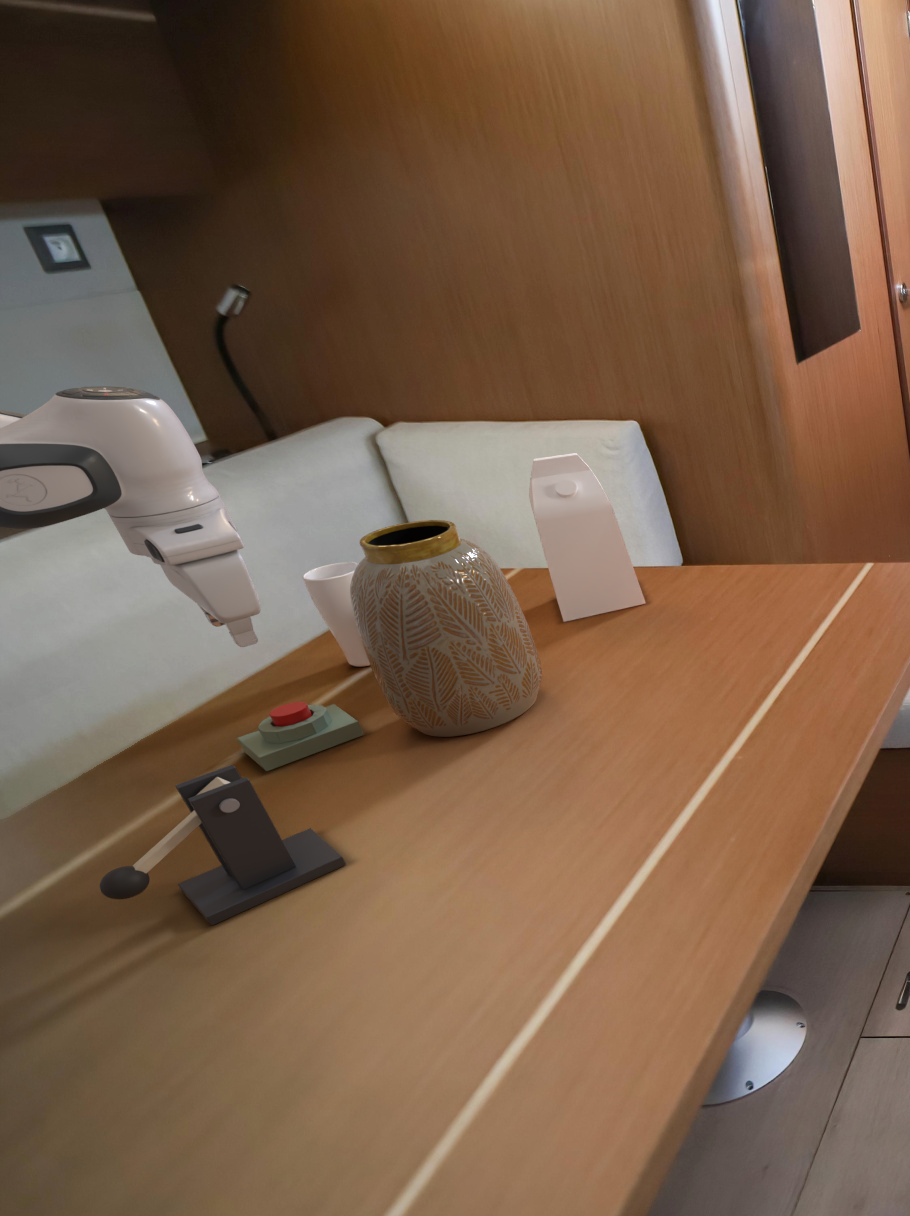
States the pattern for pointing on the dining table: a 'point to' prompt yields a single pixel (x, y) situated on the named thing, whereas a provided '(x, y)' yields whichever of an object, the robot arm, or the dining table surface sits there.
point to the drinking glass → (337, 607)
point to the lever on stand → (247, 849)
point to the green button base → (299, 737)
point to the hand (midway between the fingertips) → (234, 633)
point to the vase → (443, 630)
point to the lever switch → (150, 857)
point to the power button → (290, 714)
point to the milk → (581, 539)
